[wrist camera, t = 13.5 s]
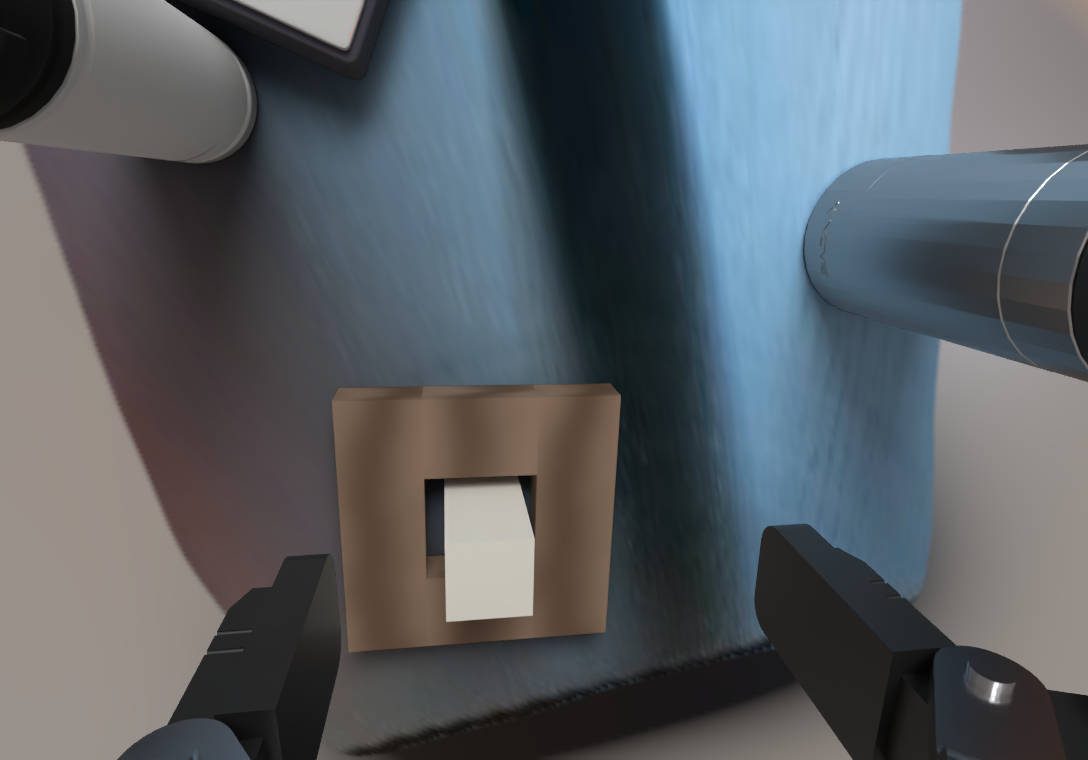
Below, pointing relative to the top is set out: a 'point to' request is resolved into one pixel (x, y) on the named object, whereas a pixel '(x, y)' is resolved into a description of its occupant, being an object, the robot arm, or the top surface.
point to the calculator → (309, 27)
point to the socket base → (460, 452)
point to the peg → (487, 549)
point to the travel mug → (121, 80)
